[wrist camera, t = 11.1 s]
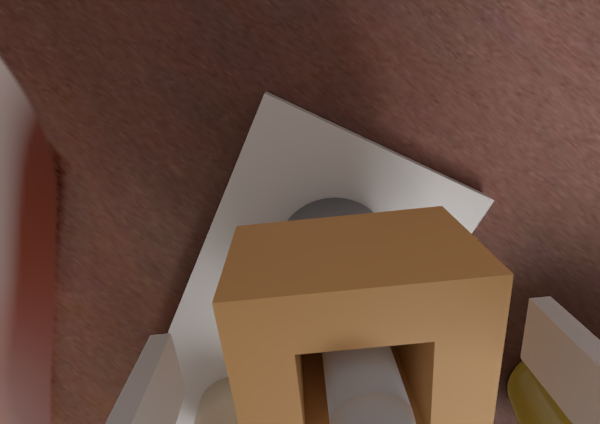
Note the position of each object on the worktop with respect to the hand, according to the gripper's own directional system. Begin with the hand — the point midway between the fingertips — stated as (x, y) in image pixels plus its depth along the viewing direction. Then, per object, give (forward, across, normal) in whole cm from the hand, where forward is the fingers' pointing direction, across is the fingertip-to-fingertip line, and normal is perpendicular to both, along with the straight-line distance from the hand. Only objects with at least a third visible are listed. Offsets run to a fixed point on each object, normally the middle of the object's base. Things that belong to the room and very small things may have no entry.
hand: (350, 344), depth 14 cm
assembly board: (+8, +3, +5) cm, 10 cm away
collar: (+2, 0, 0) cm, 2 cm away
